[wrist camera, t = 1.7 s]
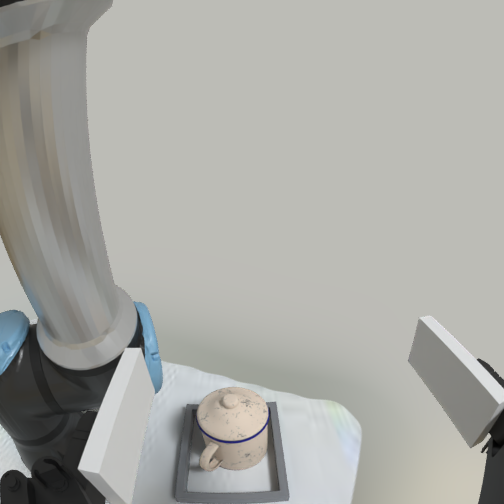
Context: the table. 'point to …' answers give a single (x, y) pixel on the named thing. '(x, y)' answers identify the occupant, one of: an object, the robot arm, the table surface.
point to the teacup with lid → (233, 428)
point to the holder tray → (229, 501)
